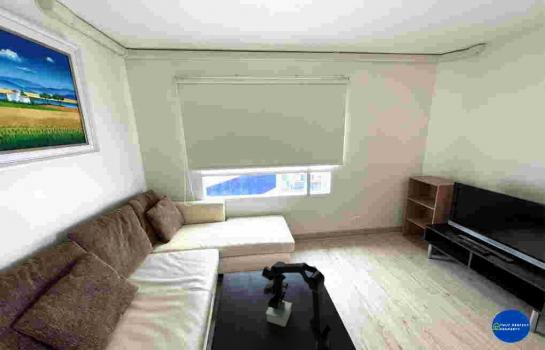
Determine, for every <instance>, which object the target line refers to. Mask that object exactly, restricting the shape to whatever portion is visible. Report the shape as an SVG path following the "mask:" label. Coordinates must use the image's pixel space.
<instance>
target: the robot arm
mask: <svg viewBox="0 0 545 350" xmlns="http://www.w3.org/2000/svg"><path fill="white" fill-rule="evenodd" d="M270 266H271V268H269V267H270ZM270 266H267V265H266V266H264V267H263V270H262V271H261V276H262V277H263V278H265V279H266V280H267V281H268V280H270V281H271V280H273V283H271V284H268V283H267V284H266V285H265V286H264V287H263V294H264V295H269V294H271V296H273V297H270V298H269V299H268V302H267V307H268V308H269V307H271V308H274V309H279V307H280V305H281V303H282V301H284V298H285V296H286V293H287V290H288V288H289V283H288V282H285V281H284V280H286V278H287V276H285V274H300V275H301V277H302V279H303V281H304V282H305V283H306V284H307V286H308V288H309V290H310V291H311V295H312V297H311V298H312V312H313V314H312V316H311V317H310V319H309V328H310V330H311V333H312V336H313V339H314V340H315V341H316V342H315V348H314V350H330V343H331V342H330V341H329V336H330V334H331V333H332V329H331V327H330V326H329V324H328V323H327V322H328V321H327V318H326V317H325V315H324V305H323V304H324V303H323V292H322V291H323V288H324V285H325V280H326V279H325V275H324V274H323V273H322V272H321V271H320V270H319V269H318V268H317V267H315V266H311V265H309V264H308V263H306V262H304V261H303V262H294V263H285V262H284V261H277V262H276V263H274V264H273V265H270ZM306 272H309V273H311V275H310V276H308V275H307V273H306ZM284 288H285V289H284ZM285 290H286V291H285Z"/></svg>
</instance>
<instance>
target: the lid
mask: <svg viewBox="0 0 545 350" xmlns="http://www.w3.org/2000/svg"><path fill="white" fill-rule="evenodd" d="M292 305H293V303H292V302H289V301H285V300H283V301H282V303H281V305H280V307H279V309H274V308H271V307H268V308H267V310H266V311H265V315H266V316H267V315H270V316H273V317H276V318H279V319H282V320H286V318H287V315H288V313H289V310H290V308H291V309H292Z"/></svg>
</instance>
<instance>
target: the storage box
mask: <svg viewBox="0 0 545 350" xmlns="http://www.w3.org/2000/svg"><path fill="white" fill-rule="evenodd" d="M291 313H292V307H291V308H290V310H289V313H288V315H287V318H286V320H282V319H279V318H276V317H273V316H270V315H266V320H267V322H269V323H272V324H275V325H278V326H281V327H284V328H285V327H286V326H287V323H288V321H289V318H290V315H291Z"/></svg>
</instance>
